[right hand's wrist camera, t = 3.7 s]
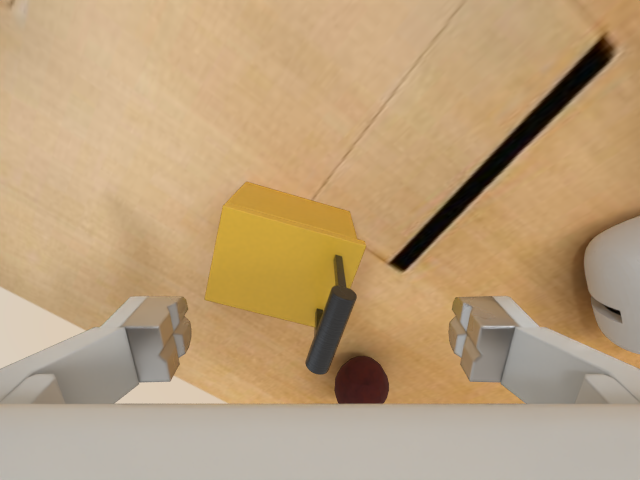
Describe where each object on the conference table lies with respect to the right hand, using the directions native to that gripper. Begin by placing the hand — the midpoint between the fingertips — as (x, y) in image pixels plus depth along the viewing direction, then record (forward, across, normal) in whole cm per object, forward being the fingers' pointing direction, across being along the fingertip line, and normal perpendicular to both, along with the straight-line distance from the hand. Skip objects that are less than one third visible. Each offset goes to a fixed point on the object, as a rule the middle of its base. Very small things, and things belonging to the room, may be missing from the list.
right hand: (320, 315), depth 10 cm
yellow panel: (+22, -4, -9) cm, 24 cm away
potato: (+30, +6, -30) cm, 43 cm away
